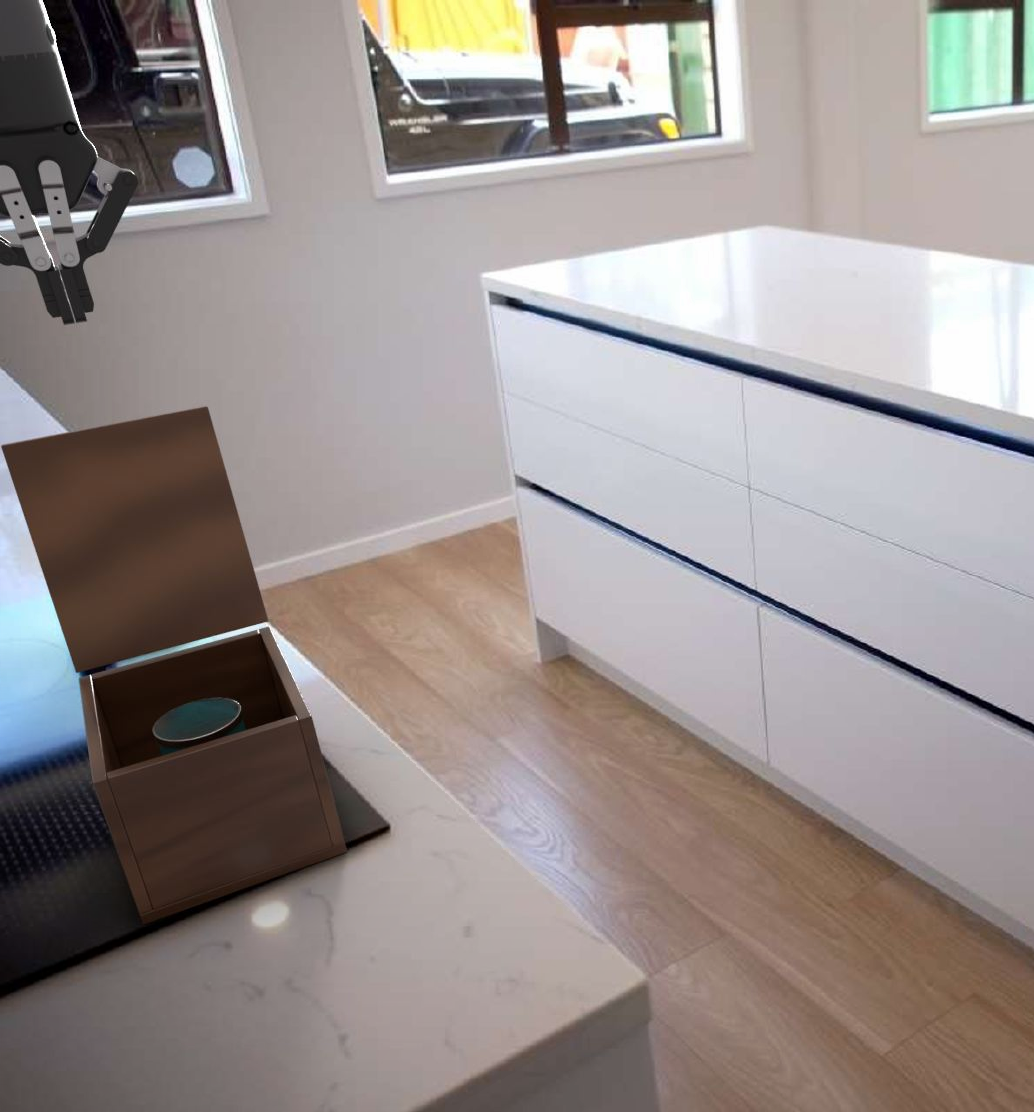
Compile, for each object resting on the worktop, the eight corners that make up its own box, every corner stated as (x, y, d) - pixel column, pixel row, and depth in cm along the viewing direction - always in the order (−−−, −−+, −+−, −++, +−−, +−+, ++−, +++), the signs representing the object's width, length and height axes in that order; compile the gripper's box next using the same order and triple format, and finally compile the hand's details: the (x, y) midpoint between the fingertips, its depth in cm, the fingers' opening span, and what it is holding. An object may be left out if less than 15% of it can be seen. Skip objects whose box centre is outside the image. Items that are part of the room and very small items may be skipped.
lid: (207, 406, 89) (206, 405, 89) (0, 445, 83) (1, 444, 83) (268, 621, 93) (267, 619, 94) (76, 673, 87) (76, 670, 88)
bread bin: (347, 852, 86) (311, 715, 81) (143, 925, 80) (92, 782, 75) (302, 749, 98) (269, 625, 94) (122, 806, 92) (78, 677, 88)
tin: (212, 864, 84) (176, 749, 80) (174, 835, 87) (137, 724, 83) (288, 823, 88) (256, 712, 84) (248, 797, 91) (216, 689, 87)
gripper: (102, 41, 85) (174, 295, 93) (-132, 58, 80) (-36, 329, 87) (109, 42, 79) (185, 314, 87) (-143, 61, 74) (-39, 351, 81)
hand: (74, 321), depth 87 cm, fingers closed
